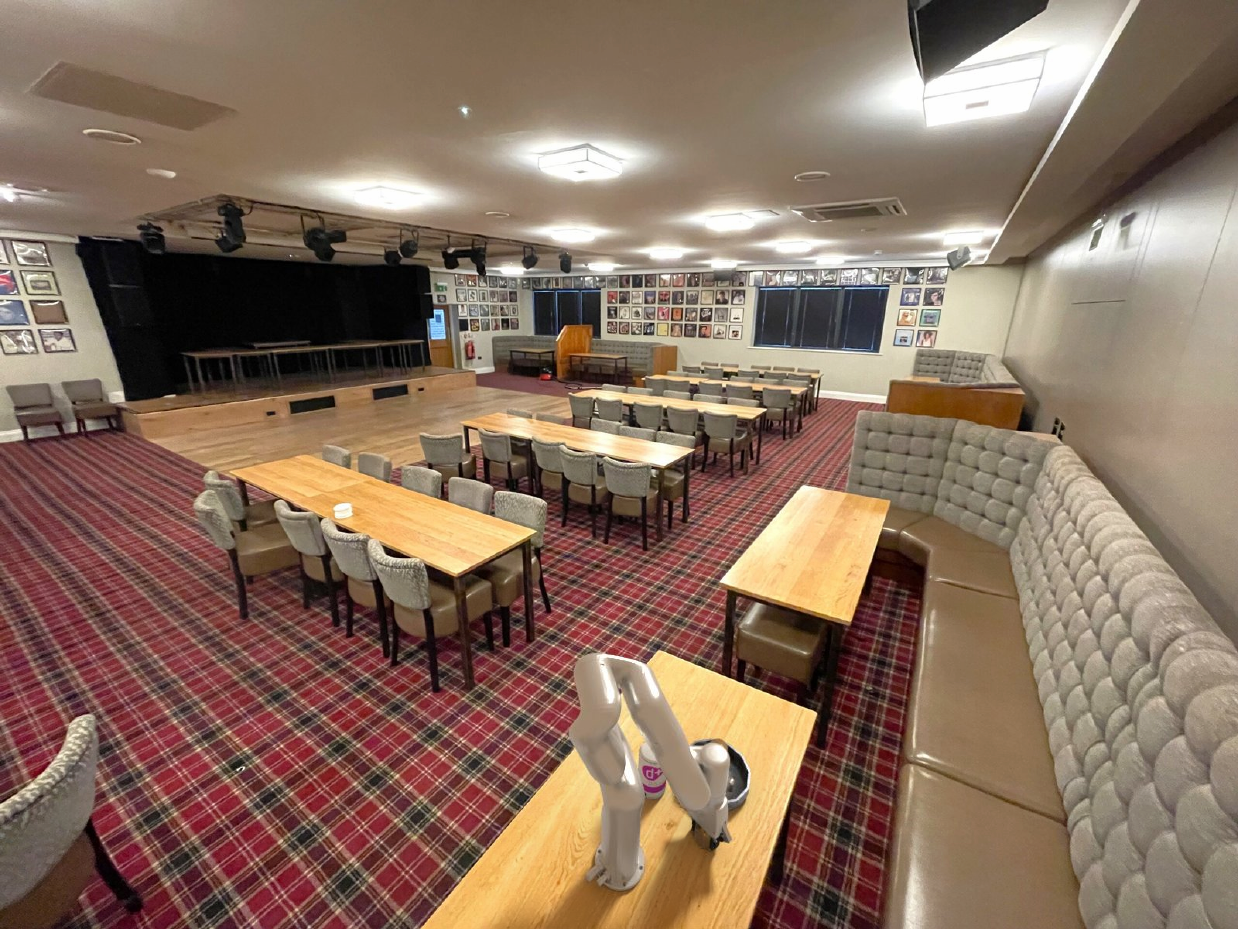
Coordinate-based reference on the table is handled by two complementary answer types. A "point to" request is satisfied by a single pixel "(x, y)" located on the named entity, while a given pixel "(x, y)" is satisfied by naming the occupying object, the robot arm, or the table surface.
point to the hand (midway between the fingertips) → (704, 836)
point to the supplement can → (650, 773)
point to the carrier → (733, 774)
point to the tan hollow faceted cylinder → (701, 837)
